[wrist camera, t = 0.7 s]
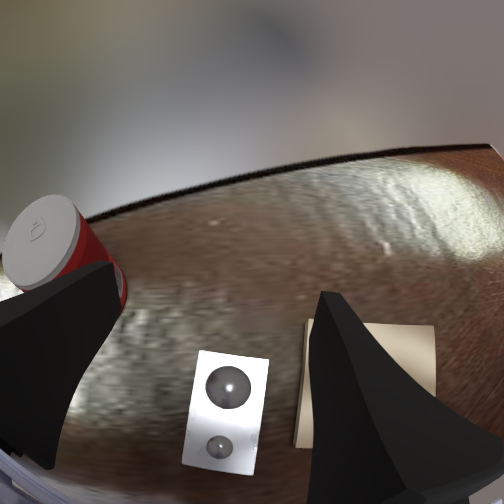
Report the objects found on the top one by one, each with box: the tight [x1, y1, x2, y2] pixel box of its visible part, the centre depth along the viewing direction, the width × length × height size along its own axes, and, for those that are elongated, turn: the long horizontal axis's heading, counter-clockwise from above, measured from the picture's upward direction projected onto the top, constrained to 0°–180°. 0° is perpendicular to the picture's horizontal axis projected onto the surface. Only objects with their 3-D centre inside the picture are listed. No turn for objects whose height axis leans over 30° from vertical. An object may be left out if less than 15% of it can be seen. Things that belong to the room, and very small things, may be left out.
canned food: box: [2, 194, 127, 315], centre depth 20 cm, size 8×8×11 cm
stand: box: [293, 319, 436, 448], centre depth 21 cm, size 11×13×2 cm
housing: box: [182, 350, 269, 475], centre depth 18 cm, size 8×4×7 cm, turn 173°
